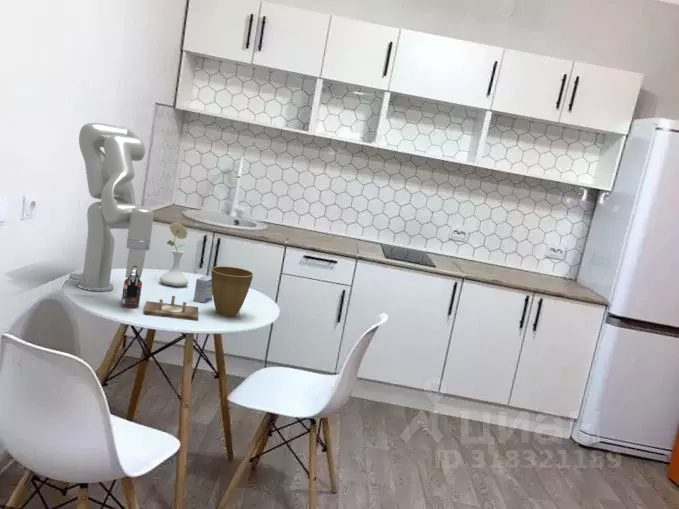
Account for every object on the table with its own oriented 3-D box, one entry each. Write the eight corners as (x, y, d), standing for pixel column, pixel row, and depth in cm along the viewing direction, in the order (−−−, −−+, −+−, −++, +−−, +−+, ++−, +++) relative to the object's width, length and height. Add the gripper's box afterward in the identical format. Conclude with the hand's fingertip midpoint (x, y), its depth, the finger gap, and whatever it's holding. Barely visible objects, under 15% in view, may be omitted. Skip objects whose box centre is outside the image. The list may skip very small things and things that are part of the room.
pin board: (143, 314, 229) (145, 301, 228) (145, 304, 241) (147, 291, 240) (197, 320, 233) (199, 307, 232) (197, 310, 245) (199, 297, 245)
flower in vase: (193, 287, 277) (202, 227, 274) (170, 288, 269) (178, 226, 265) (174, 279, 286) (182, 220, 282) (150, 280, 277) (159, 219, 273)
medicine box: (204, 303, 256) (207, 280, 255) (193, 300, 257) (196, 278, 256) (212, 299, 264) (215, 277, 263) (201, 297, 265) (204, 275, 264)
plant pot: (225, 306, 257) (232, 265, 255) (254, 317, 249) (261, 274, 247) (196, 310, 245) (202, 266, 243) (226, 322, 237) (233, 277, 235)
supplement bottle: (122, 308, 232) (126, 275, 230) (119, 303, 237) (123, 271, 235) (140, 308, 235) (144, 276, 233) (137, 304, 240) (141, 272, 238)
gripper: (129, 239, 240) (123, 287, 242) (124, 247, 223) (118, 298, 225) (151, 241, 241) (145, 289, 244) (148, 249, 225) (142, 300, 227)
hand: (132, 293), depth 235 cm, fingers open, 9 cm apart
